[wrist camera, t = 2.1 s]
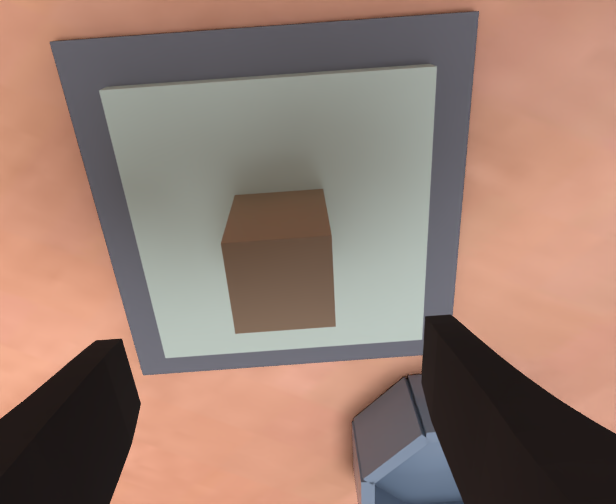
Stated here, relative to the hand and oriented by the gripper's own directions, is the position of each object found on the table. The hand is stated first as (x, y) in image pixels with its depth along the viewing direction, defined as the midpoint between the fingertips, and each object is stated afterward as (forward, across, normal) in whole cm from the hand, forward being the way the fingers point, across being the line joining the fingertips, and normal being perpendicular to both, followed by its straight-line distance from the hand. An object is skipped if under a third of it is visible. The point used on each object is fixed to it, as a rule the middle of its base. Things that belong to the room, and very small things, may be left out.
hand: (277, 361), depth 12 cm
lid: (+8, 0, 0) cm, 8 cm away
